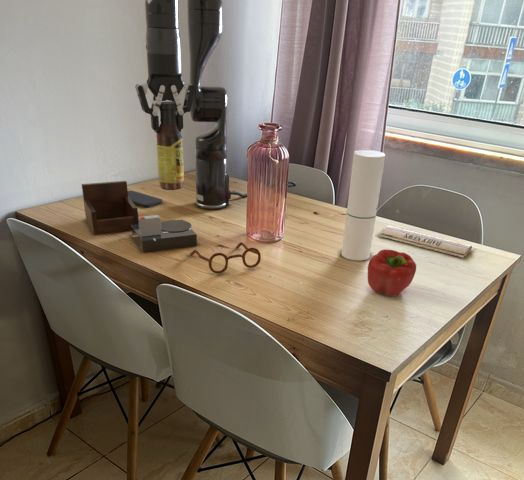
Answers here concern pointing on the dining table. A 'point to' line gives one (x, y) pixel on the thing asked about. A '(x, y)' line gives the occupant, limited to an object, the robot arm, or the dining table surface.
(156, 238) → the hob
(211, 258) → the glasses
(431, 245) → the newspaper
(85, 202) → the spice rack
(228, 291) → the dining table surface
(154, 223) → the knob
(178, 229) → the burner ring
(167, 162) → the sauce bottle
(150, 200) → the phone
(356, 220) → the cylindrical container
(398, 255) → the vegetable
